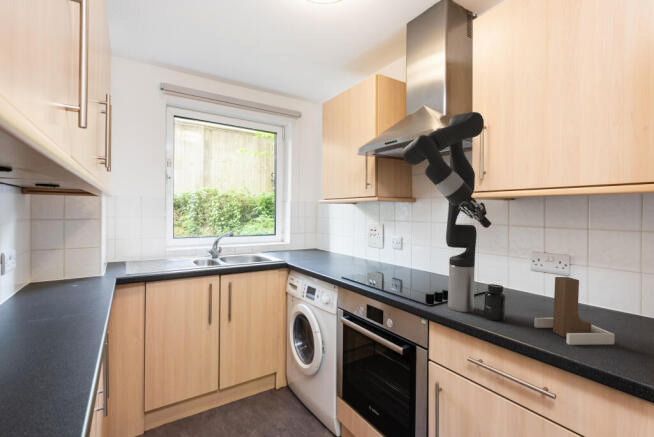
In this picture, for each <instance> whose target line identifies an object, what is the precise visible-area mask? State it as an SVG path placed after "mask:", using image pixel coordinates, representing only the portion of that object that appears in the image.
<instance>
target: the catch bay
mask: <svg viewBox="0 0 654 437" xmlns="http://www.w3.org/2000/svg"><path fill="white" fill-rule="evenodd" d="M533 326H534V328H537V329H538V328H541V329H543V328H551V329H553V317H534V324H533ZM565 340H566V342H565V343H566V344H567V345H571V346H573V345H574V346H575V345H578V346H579V345H584V346H585V345H615V333H613V332H610V331H607V330H605V329H603V328H601V327H599V326H595V325H594V324H591V333H567V337H566V339H565Z"/></svg>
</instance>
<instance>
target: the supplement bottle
mask: <svg viewBox="0 0 654 437" xmlns="http://www.w3.org/2000/svg"><path fill="white" fill-rule="evenodd" d="M483 298H484V301H483V303H484V304H483V317H484V318H485V319H486V320H489V321H493V322H503V321H505V320H506V307H507V305H506V304H507V296H506V294H505V293H504V286H503V285H501V284H495V283H489V284H488V285H487V291H486V292H485V293H484V297H483Z"/></svg>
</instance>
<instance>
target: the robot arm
mask: <svg viewBox="0 0 654 437" xmlns="http://www.w3.org/2000/svg"><path fill="white" fill-rule="evenodd" d="M484 123H485V122H484V117H483V115H482V114H481V113H480V112H477V111H471V112H469V111H468V112H464V113H459V114H455V115H453V116H451V118H450V119H449V122H448V125H447V126H444V127H440V128H437V129H436V130H433V131H431V132H430V133H427V134H420V135H418V136H417V137H416V138H415V139H414V140H412V141H411V142H410V143H409V144H408V145H406V146H405V147H404V149H403V151H402V158H403V160H404V162H405V163H406V164H409V165H411V166H416V165H419V164H421V163H422V162H424V161H426V160H427V162H428V165H427V167H425V169H424V175H425V176H426V177H427V178H428V179H429V181H431V182H432V183H433V185H434V186H435V187H436V189H437V190H438V191H439V193H440V194H442V196H444V198H445V199H446V200H447V201H448V208H447V210H448V212H447V222H446V232H445V242H446V246H448V248H453V249H455V248H457V249H465V251H463V252H461V253H459V254H456V255H453V256H450V257H449V259H448V260H449V261H448V262H449V263H448V264H449V265H448V288H447V290H448V291H447V292H448V293H447V294H448V295H447V307H448V308H449V309H450V310H452V311H454V312H455V311H456V312H461V313H471V312H473V311H474V307H475V306H474V299H475V273H476V272H475V267H476V264H475V263H476V246H477V239H478V238H477V236H478V235H477V229H476V228H477V227H476V226H475V225H473V224H459V223H457V219H458V217H459V214H460V213H463V214H464V215H466V216H468V217H469V218H470V219H474V220H476V221H477V222H478V223H479V224H480V225H481V226H482V227H483V228H484V229H488V228H489V227H490V226H491V225H492V222H491V221H490V220H489V219H488V218H487V216H486V215H487V214H488V213H487V209H486V205H485V203H484V202H480V203H478V201H477V199H475V198H474V197H473V194H474V192H475V188H476V187H475V185H476V179H475V178H476V173H475V170H474V168H473V166H472V164H471V163H470V161H469V159H468V158H467V157H466V154H465V152H464V145H463V141H464V140H466V139H472V138H476V137H478V136H480V135H481V133H482V132H483V130H484V126H485V124H484ZM448 147H449V165H448V164H447V162H446V161H445V160H444V157H443V156H442V154H441V151H443V150H445V149H446V148H448ZM456 223H457V224H456Z"/></svg>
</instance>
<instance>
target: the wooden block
mask: <svg viewBox="0 0 654 437" xmlns="http://www.w3.org/2000/svg"><path fill="white" fill-rule="evenodd" d="M579 290H580V280H579V279H577V278H573V277H569V276H555V277H554V292H553V293H554V295H553V297H554V298H553V317H552V318H553V328H552V331H553V333H554V334H557V335H559V336H560V337H563V338H567V333H591V325H592V323H591V322H590V321H586V320H585V319H582V318H580V315H579V298H580V296H579V293H580V291H579Z"/></svg>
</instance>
